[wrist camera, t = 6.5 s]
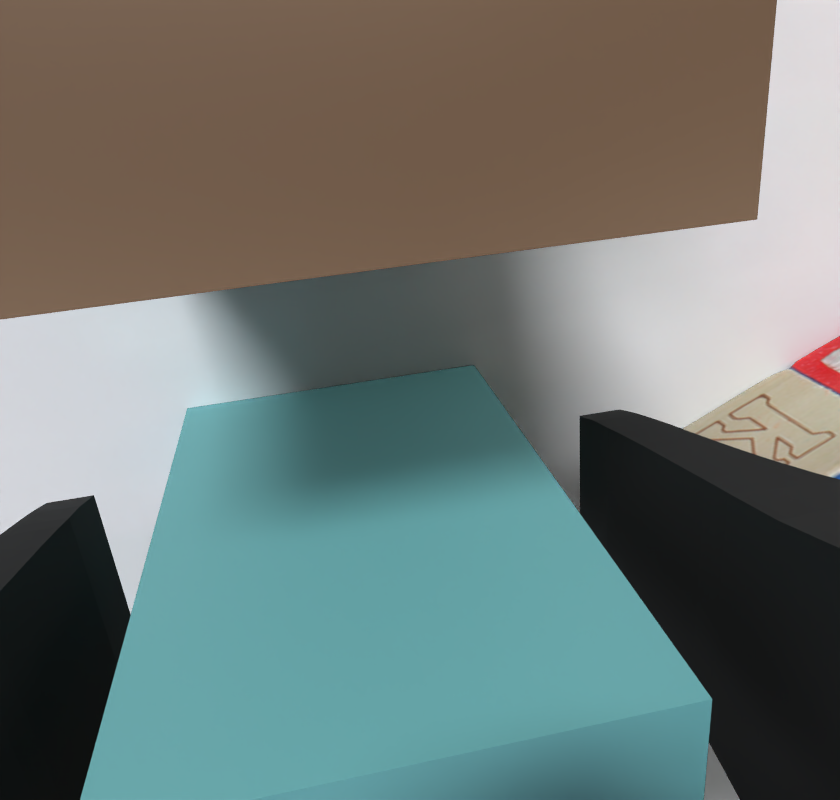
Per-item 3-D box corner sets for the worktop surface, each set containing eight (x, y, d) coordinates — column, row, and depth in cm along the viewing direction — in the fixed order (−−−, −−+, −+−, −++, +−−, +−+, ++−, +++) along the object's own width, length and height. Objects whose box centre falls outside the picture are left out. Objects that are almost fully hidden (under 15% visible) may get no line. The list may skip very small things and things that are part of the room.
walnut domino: (458, 136, 12) (756, 219, 5) (132, 172, 11) (-132, 338, 4) (451, 23, 11) (785, -94, 4) (103, 54, 10) (-278, -15, 3)
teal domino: (479, 445, 14) (700, 833, 7) (207, 489, 13) (123, 972, 6) (474, 365, 13) (712, 699, 6) (187, 408, 13) (69, 840, 5)
